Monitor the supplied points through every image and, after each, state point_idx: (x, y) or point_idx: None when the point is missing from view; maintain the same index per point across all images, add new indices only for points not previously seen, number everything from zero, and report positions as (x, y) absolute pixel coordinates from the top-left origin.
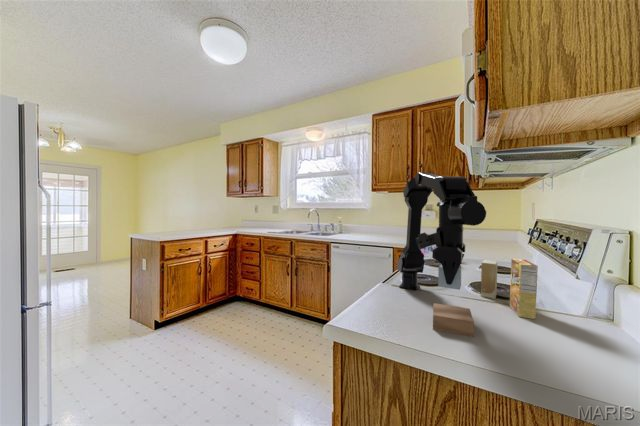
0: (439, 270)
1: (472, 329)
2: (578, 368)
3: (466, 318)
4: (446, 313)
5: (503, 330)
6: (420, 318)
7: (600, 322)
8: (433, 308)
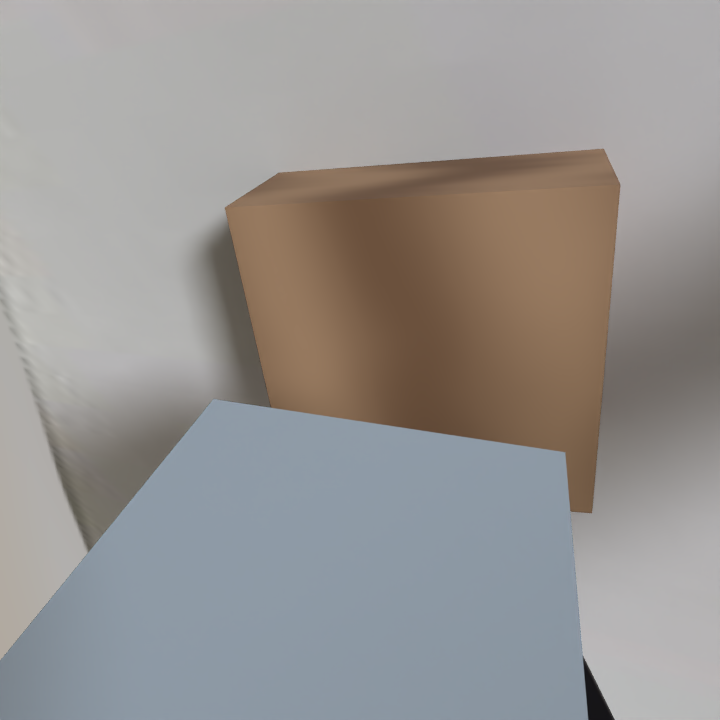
0: (12, 678)
1: None
2: None
3: None
4: (341, 322)
5: None
6: (454, 24)
7: None
8: (411, 198)
